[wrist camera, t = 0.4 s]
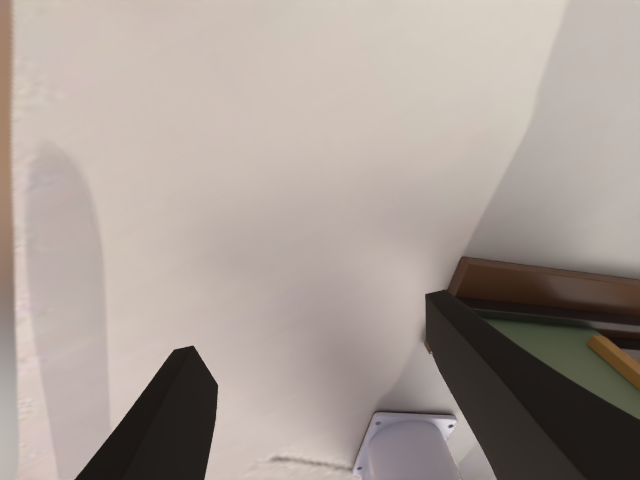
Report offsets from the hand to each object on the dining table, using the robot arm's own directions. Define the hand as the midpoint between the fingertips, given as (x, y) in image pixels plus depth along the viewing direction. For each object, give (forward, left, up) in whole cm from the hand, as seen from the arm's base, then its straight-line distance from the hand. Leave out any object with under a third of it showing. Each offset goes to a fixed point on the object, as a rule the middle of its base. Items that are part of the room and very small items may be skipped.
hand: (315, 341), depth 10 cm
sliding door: (-5, -17, -9) cm, 20 cm away
